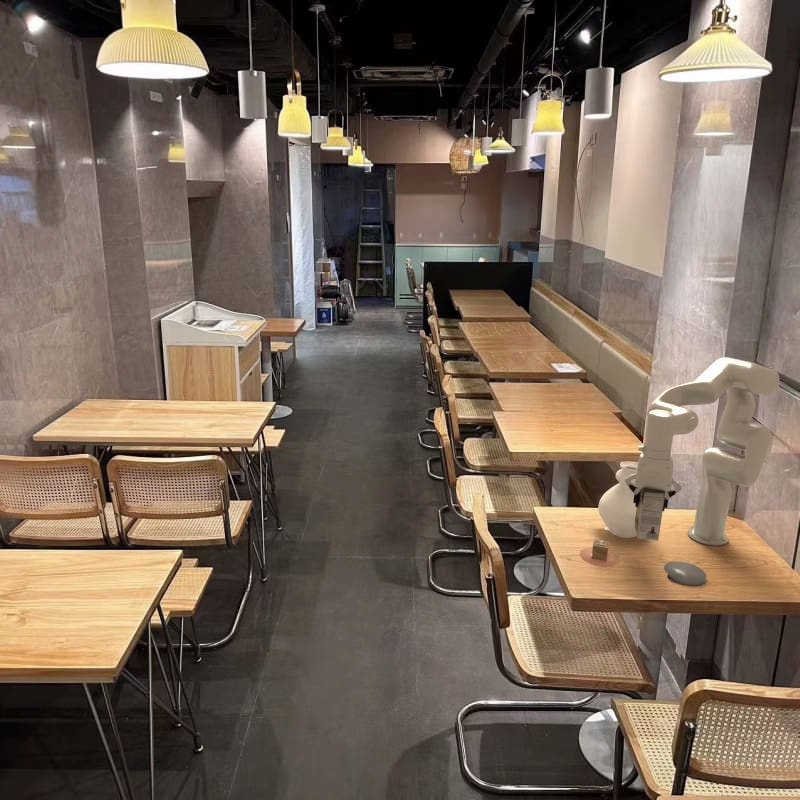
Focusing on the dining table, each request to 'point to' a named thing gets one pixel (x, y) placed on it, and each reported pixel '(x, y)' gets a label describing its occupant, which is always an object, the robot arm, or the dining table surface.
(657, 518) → the coffee box
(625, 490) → the decorative vase
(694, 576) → the charcoal dish
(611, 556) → the terracotta dish
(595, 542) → the letter cube
